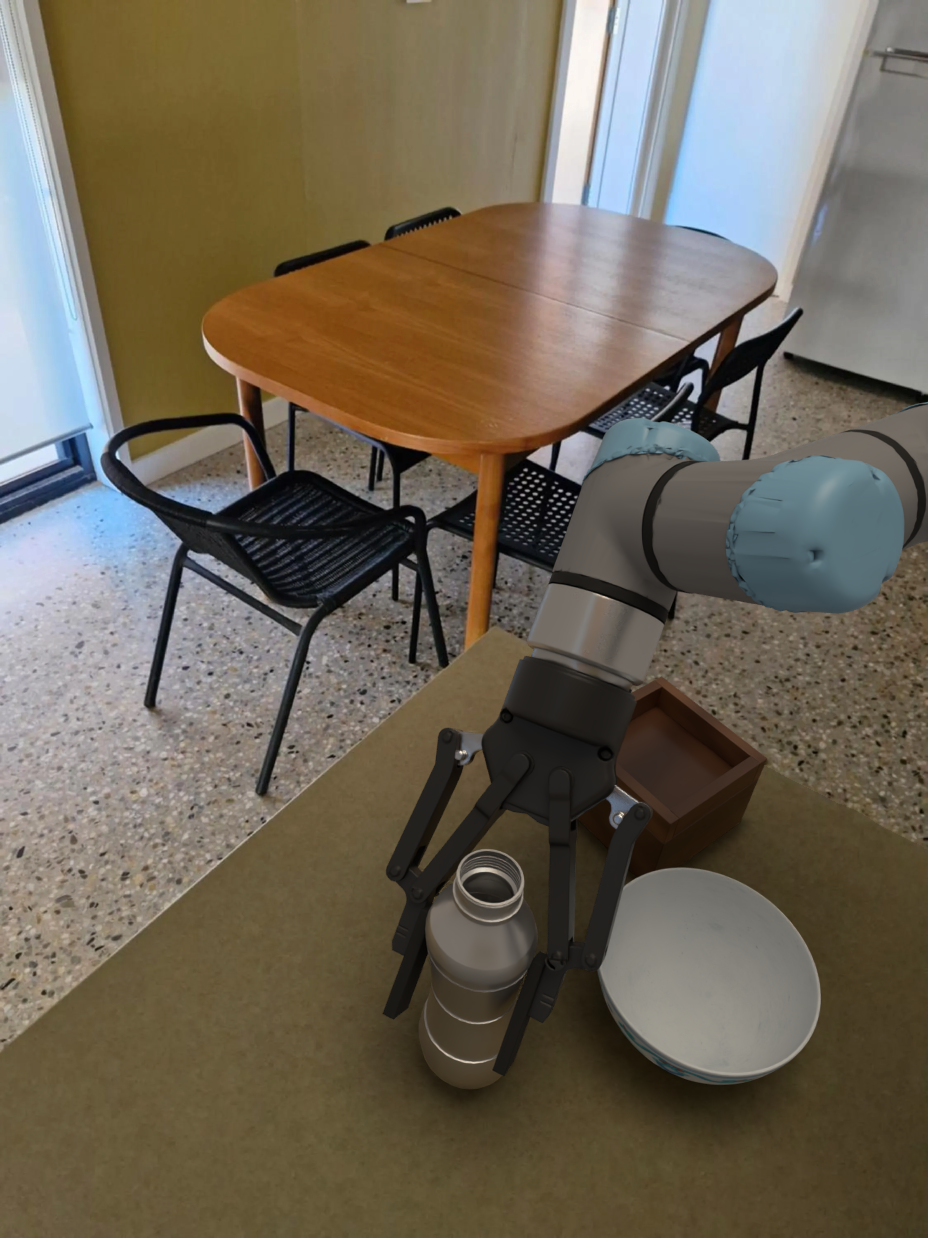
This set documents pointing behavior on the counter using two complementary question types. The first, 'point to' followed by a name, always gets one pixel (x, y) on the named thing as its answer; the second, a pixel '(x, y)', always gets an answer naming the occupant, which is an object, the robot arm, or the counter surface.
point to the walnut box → (678, 778)
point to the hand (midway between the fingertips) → (448, 1037)
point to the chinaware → (708, 977)
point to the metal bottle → (475, 967)
